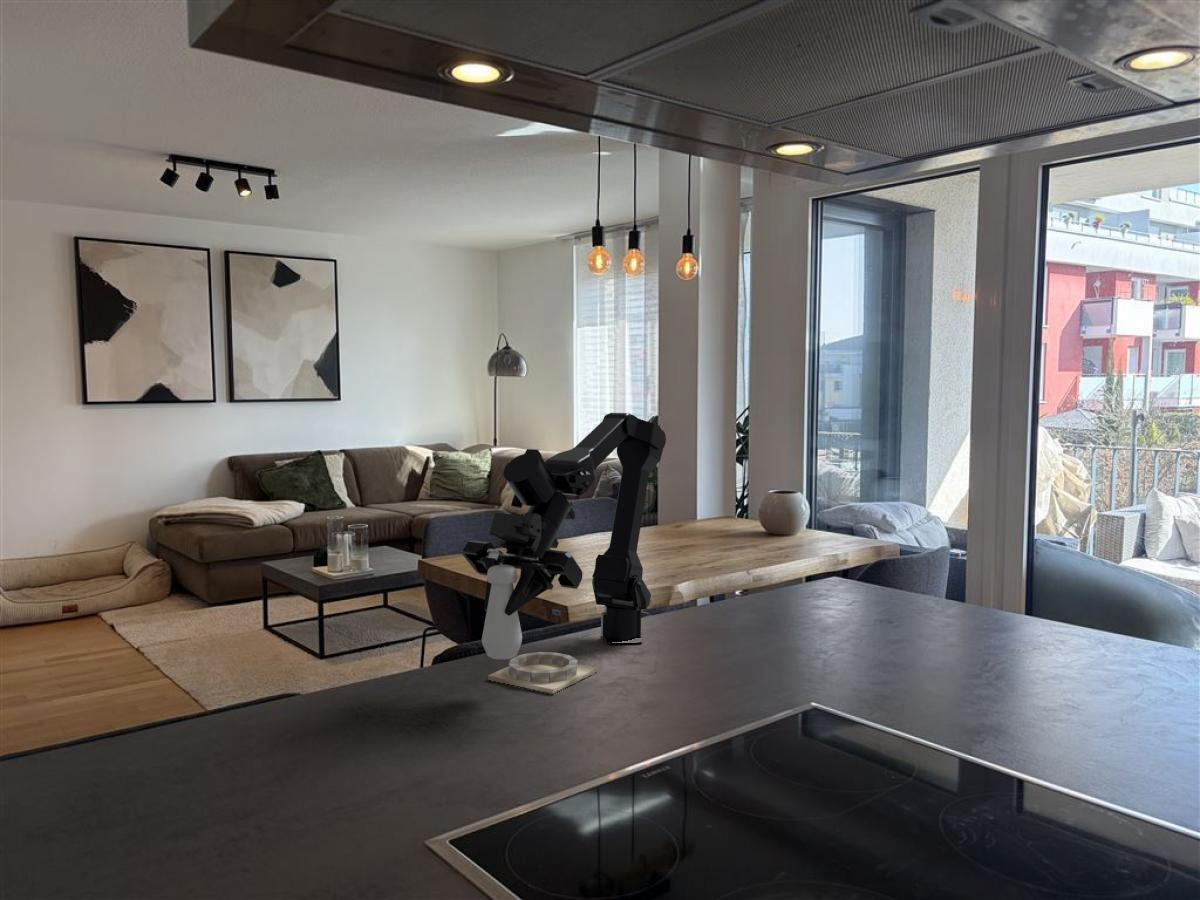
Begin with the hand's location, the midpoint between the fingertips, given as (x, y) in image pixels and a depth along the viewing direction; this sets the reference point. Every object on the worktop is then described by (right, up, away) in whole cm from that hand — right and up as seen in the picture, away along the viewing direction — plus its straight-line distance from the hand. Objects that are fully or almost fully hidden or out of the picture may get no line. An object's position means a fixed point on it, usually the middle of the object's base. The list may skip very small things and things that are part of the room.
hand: (496, 612), depth 124 cm
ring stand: (+6, -12, +11) cm, 17 cm away
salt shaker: (+1, -7, +2) cm, 7 cm away
